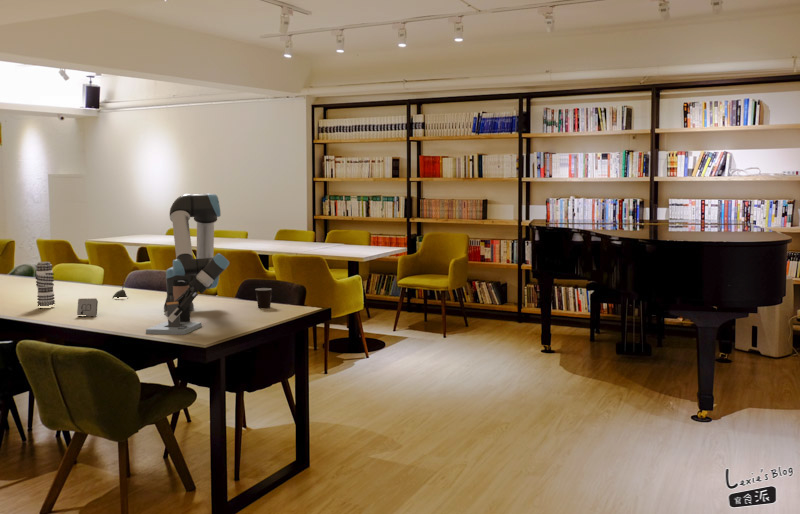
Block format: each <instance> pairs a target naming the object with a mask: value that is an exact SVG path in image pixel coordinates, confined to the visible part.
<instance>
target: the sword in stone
mask: <svg viewBox="0 0 800 514" xmlns="http://www.w3.org/2000/svg"><path fill="white" fill-rule="evenodd" d="M125 281H126V279H125V278H124V279H123V283H122V285H121V287H122V289H120V290H118V291H116V292H115V293H114V295H112V298H113V297H117V298H119V297H128V296H127V293H126V291H125V290H124V286H125Z"/></svg>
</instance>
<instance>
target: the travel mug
mask: <svg viewBox="0 0 800 514" xmlns="http://www.w3.org/2000/svg"><path fill="white" fill-rule="evenodd" d="M188 288H189V280H187V279H180V280H173V296H174V302H175V300H176V299H178V298H179V297H180V296H181V295H182V294H183V293H184V292H185V291H186V290H187V289H188ZM180 322H191V311H190V305H189V306H188V307H187V308H186V310H185V311H182V312H181V314H180Z"/></svg>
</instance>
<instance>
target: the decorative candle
mask: <svg viewBox="0 0 800 514" xmlns="http://www.w3.org/2000/svg"><path fill="white" fill-rule="evenodd" d="M35 266H36V271H35V272H36V274H35V275H34V276H35V280H36V281H35V283H36V288H37V296H36V297H37V301H36V303H37V307H38V306H39V305H40V306H49V305H53V304H55V305H56V303H55V302H56V301H55V297H54V296H55V291H54V286H55V284H54V283H53V282H55V280H54V278H55V277H54V275H55V273H54V271H53V264H51V262H50V261H40V262H38V263H37V264H36V265H35Z"/></svg>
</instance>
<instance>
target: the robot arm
mask: <svg viewBox="0 0 800 514" xmlns="http://www.w3.org/2000/svg"><path fill="white" fill-rule="evenodd" d="M219 217H221V205H220V200H219V197H218V195H217V194H215V193H185V194H182V195H180V196H178V197H177V198H176V199H175V200H174V201H173V202H172V205H171V207H170V208H169V219H170V221H171V222H172V230H173V241H174V248H175V259H173V260H172V266H171V267H169V268H166V272H165V279H166V283H165V284H166V298H165V302H164V305H163V312H164V313H163V315H164V316H165V317H167V318H166V319H167V321H168V320H169V321H171V322H173V321H174V320H175V319H176V318H177V317H178V316H179V315H180V314H181V312H182V311H185V310H186V308H187V307H188V306H189V305H190V312H191V311H194V310H195V305H194V303H193V301H194V300H195V298H196V297H197V296H198V295H199V294H198V293H200V294H204V292H206V290H209V289H210V290H211V289H214V288H217V286H218V285H219V280H220V275H221V274H222V273H223V272H224V271H225V270H227V268H228V267H229V265H230V261H229V260H228V259H227V258H226V257H225V256H224V255H223V254H221V253H216V254H215V255H214V252H215V251H214V249H215V248H214V247H215V245H214V244H215V243H214V242H215V240H214V239H215V223H216V222H217V221H218V218H219ZM191 218H193V220H194V221H195V222H196V258H193V246H192V239H191V231H190V222H189V221H190V219H191ZM180 279H187V280H189V288H188V289H187V290H186V291H185V292H184V293H183V294H182V295H181V296H180V297H179V298H178V299H176V300H175V302H179V306H177V308H176V310H175V311H174V312H173V313H172V314H171V315H170V316H169V317H168V315H167V304H166V303H168V302H171V301H170V296H173V280H180Z"/></svg>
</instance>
